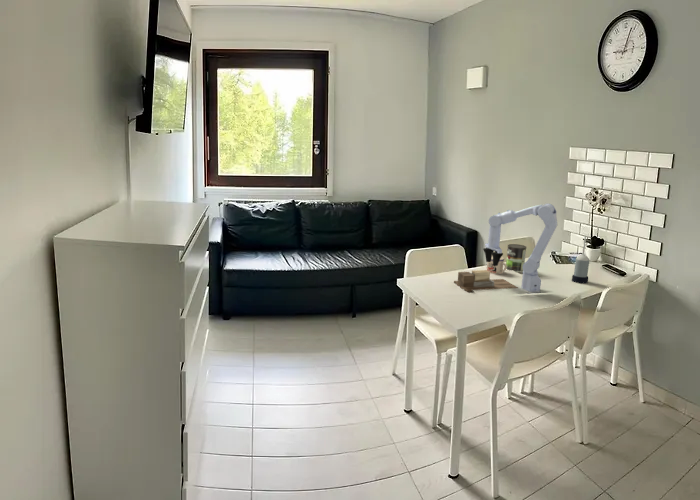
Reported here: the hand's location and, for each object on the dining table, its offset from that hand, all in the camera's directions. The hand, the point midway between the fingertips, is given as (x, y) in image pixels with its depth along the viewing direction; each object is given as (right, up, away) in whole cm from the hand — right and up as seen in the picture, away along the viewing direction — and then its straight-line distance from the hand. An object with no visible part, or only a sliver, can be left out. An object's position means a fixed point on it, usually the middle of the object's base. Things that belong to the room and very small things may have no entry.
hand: (491, 263), depth 281 cm
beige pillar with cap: (-7, -10, -4) cm, 14 cm away
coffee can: (+21, -5, +30) cm, 37 cm away
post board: (-4, -11, -3) cm, 13 cm away
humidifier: (+50, -10, +11) cm, 52 cm away
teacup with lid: (+8, -6, +20) cm, 23 cm away
